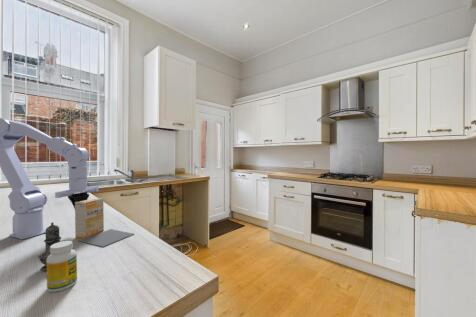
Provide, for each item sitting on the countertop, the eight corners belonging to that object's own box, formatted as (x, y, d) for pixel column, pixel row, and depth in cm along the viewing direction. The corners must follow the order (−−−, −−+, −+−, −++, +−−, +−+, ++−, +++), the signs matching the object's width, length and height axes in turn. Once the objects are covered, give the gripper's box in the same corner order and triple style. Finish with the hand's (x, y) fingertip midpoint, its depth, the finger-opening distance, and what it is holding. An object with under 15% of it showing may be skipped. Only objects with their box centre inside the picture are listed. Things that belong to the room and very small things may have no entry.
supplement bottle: (53, 281, 51) (52, 241, 50) (80, 276, 52) (79, 238, 52) (41, 295, 45) (40, 250, 45) (72, 289, 47) (71, 247, 47)
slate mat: (78, 241, 74) (78, 240, 74) (110, 229, 85) (110, 229, 85) (103, 247, 69) (103, 246, 69) (134, 234, 80) (134, 233, 80)
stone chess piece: (43, 274, 53) (41, 227, 53) (35, 268, 56) (33, 223, 56) (71, 264, 58) (70, 221, 58) (62, 259, 61) (61, 217, 61)
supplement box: (85, 238, 76) (85, 202, 76) (74, 237, 77) (74, 202, 77) (104, 230, 84) (104, 197, 84) (94, 229, 85) (93, 197, 85)
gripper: (62, 180, 75) (63, 219, 75) (103, 176, 88) (103, 209, 88) (51, 180, 78) (52, 217, 78) (92, 176, 91) (92, 207, 91)
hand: (79, 212), depth 83 cm, fingers closed
